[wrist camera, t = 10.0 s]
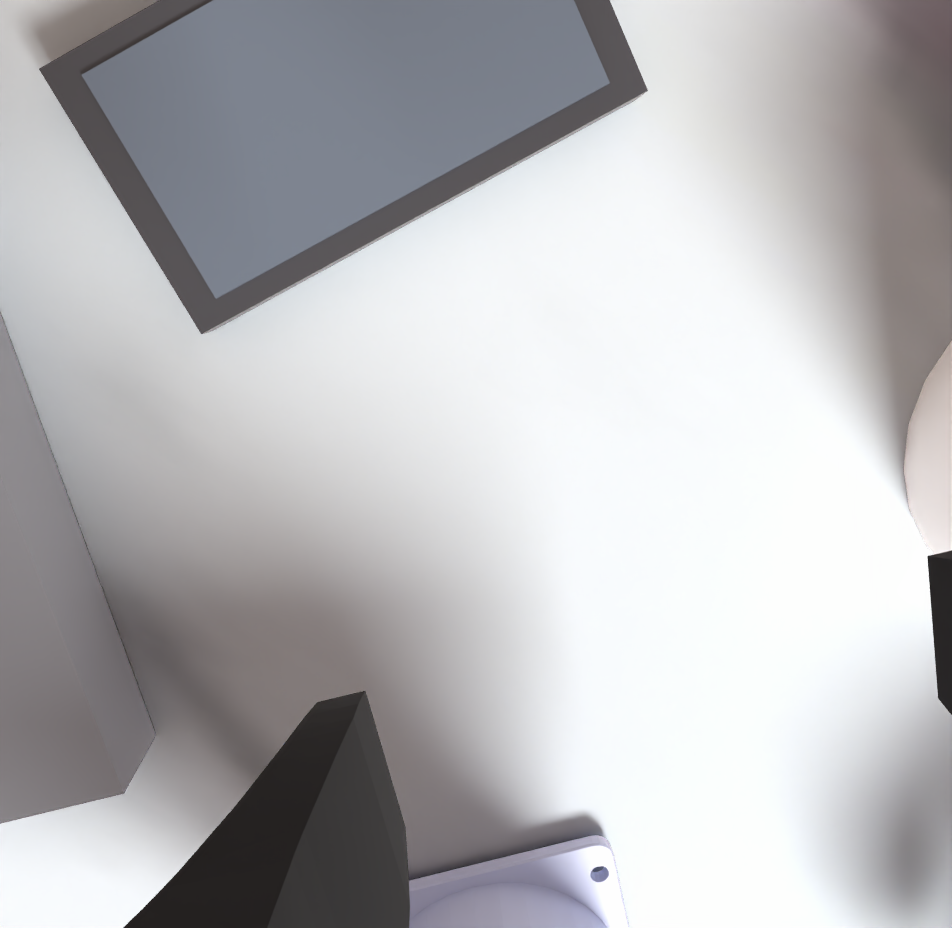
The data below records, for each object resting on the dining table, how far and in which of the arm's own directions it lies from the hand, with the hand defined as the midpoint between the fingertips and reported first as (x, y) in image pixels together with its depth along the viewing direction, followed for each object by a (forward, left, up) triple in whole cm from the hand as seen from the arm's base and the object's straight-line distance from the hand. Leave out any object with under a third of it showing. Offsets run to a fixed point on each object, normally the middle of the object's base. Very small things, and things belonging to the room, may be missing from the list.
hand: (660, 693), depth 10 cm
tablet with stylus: (+11, +1, -10) cm, 15 cm away
